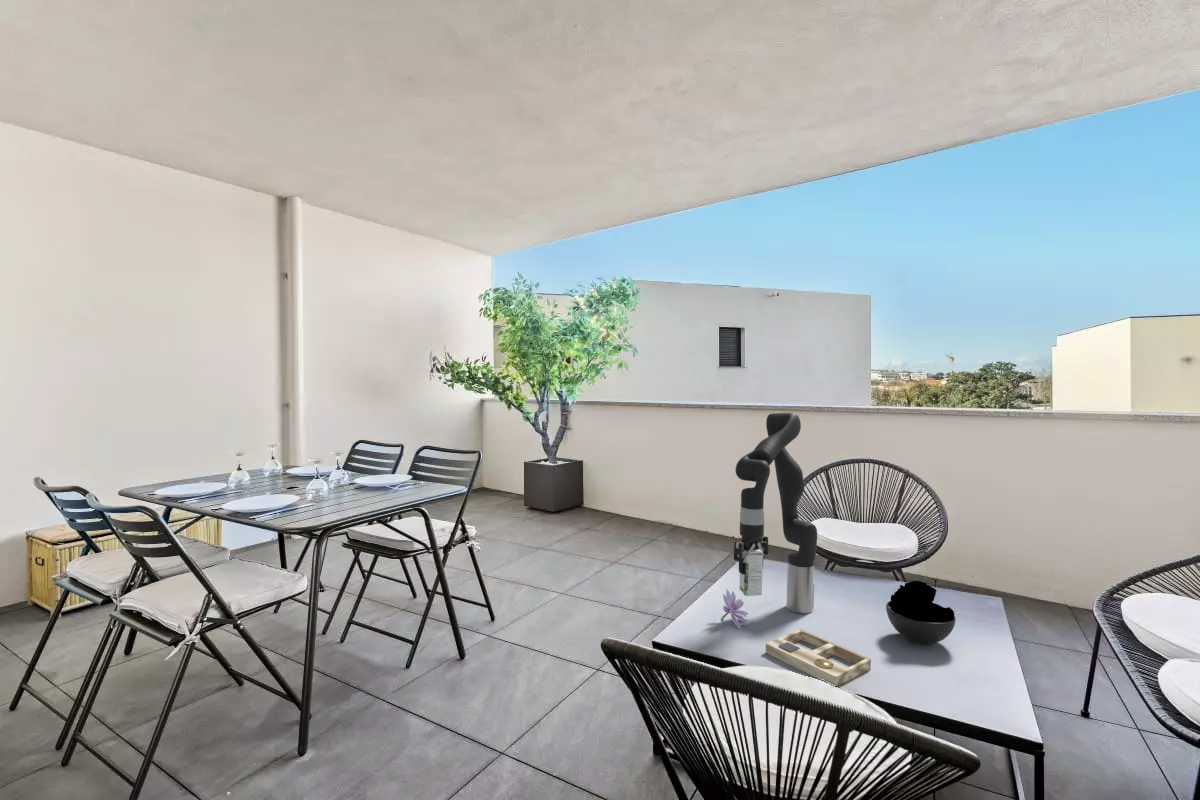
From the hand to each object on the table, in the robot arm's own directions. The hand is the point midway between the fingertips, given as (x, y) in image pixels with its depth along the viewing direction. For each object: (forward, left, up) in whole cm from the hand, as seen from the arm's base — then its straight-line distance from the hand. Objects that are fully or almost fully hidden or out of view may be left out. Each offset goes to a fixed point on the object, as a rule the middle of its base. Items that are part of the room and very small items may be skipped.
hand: (751, 571), depth 182 cm
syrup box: (0, 0, -7) cm, 7 cm away
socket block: (-8, +19, -24) cm, 32 cm away
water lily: (-8, -13, -24) cm, 29 cm away
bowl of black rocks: (-49, +30, -24) cm, 62 cm away
